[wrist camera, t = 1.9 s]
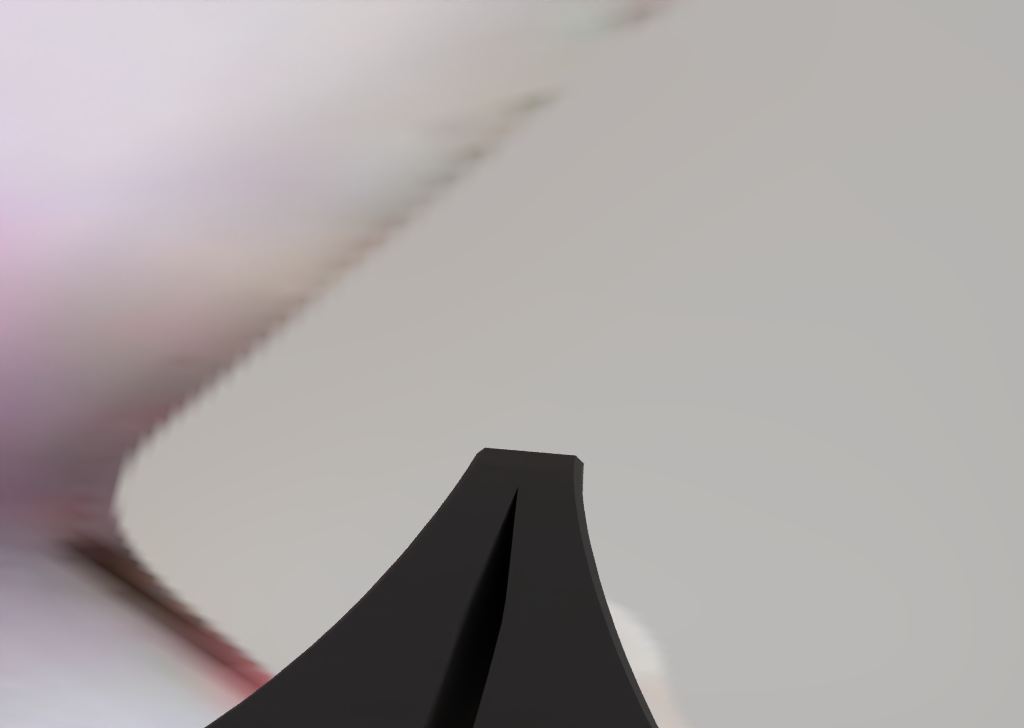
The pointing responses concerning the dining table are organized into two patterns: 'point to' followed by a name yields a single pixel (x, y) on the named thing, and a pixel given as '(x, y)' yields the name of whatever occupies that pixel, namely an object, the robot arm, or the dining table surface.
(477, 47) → the dining table surface
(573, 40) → the dining table surface
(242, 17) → the dining table surface
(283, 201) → the dining table surface
